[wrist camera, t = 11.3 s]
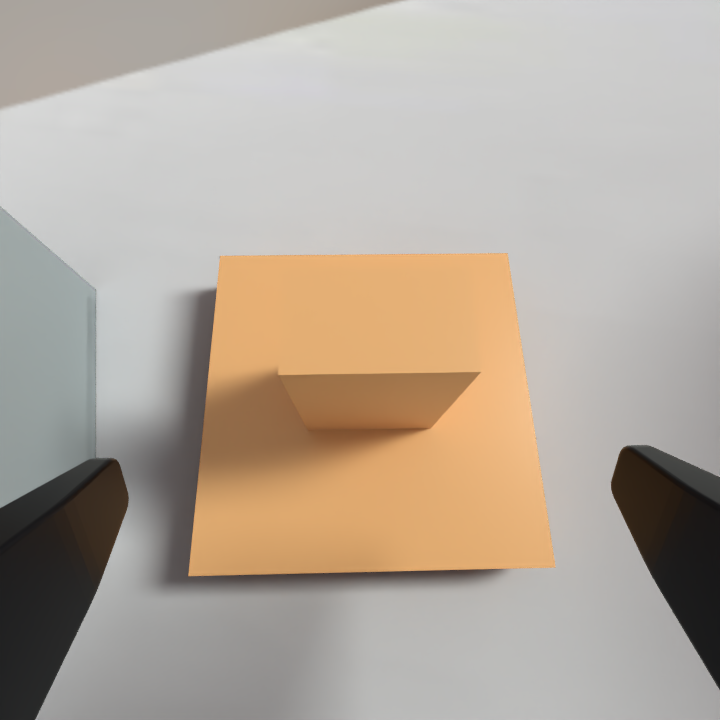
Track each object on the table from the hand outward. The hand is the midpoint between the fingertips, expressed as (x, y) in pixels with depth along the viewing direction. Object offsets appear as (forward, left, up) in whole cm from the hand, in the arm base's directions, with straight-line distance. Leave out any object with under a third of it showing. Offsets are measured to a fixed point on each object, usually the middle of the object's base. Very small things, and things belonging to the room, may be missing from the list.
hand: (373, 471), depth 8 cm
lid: (+3, +2, -8) cm, 9 cm away
